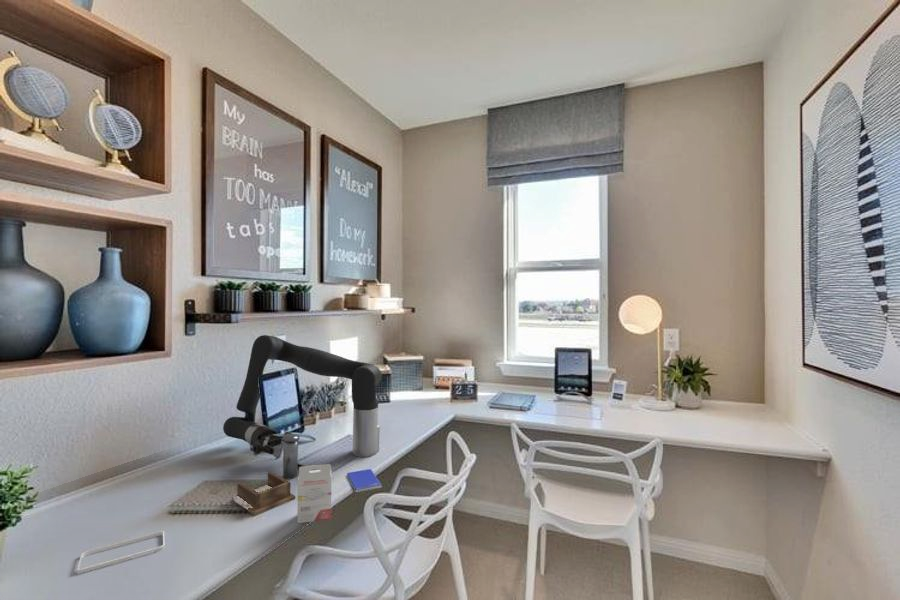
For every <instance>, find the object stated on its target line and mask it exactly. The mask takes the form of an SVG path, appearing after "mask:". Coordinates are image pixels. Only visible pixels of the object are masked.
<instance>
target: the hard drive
mask: <svg viewBox="0 0 900 600" xmlns="http://www.w3.org/2000/svg"><path fill="white" fill-rule="evenodd" d="M346 477H347V479H348V481H349V483H350V484H351V487H352V488H353V490H354V492H355V493H359V492H364V491H365V492H366V491H371V490H376V489H381V488H382V487H383V485H382V483H381V481H379V479H378V478H377V476H376V474H375V473H374V472H373V470H372V469H371V468H368V469H362V470H357V471H351V472H347V473H346Z"/></svg>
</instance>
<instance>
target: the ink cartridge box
mask: <svg viewBox="0 0 900 600" xmlns="http://www.w3.org/2000/svg"><path fill="white" fill-rule="evenodd" d="M331 466H332V465H331V463H327V464H314V465H306V466H304V465H303V466H299V467H298V476H297V521H296V522H297V524H304V523H311V522H319V521H326V520H331V519H332V479H333V478H332V467H331Z"/></svg>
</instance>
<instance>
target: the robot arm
mask: <svg viewBox="0 0 900 600" xmlns="http://www.w3.org/2000/svg"><path fill="white" fill-rule="evenodd" d="M269 360H274V361H279V362H285V363H289V364H292V365H294V366H296V367H298V368H299V369H301V370H303V371H305V372H308V373H311V374H314V375H318V376H322V377H323V376H324V377H331V378H332V377H333V378H335V377H336V378H346V379H348V380H350V381H351V400H352V403H353V412H352V420H353V421H352V452H353V453H352V454H353V456H356V457H360V458H362V457H370V456H371V457H372V456H374V455H375V454H377V453H378V451H380V429H381V427H380V425H378V424H379V399H378V398H377V396H376V386H378V384H379V383H380V382H381V380H382V378H383V375H382V374H383V373H382V371H381V369H380V367H378V366H377V365H375V364H373V363H369V362H368V363H367V362H361V361H357V360H356V361H355V360H352V359H349V358H345V357H342V356H340V355H337V354H334V353H331V352H328V351H325V350H321V349H317V348H313V347H309V346H301V345H297V344H294V343H291V342H288V341H286V340H284V339H281V338H280V337H278V336H273V335H267V334H263V335H260V336H257V338H256V339H254V342H253V344H252V347H251V353H250V357H249V362H248V367H247V372H246V376H245V380H244V384H243V387H242V390H241V391H240V395H239V397H238V401H237V402H236V410H237V411H240V412H242V413H244V416H230V417H229V418H227V419H226V420H225V421H224V423H223V426H222V430H223V432H224V434H225V435H226V436H227V437H230V438H234V439H237V440H238V439H239V440H242V441H244V442H246V443H247V444H249V450H250V451H252V452H253V453H254V454H257V455H260V454H261V452H262V453H266V454H269V455H274V454H275V448H274V447H280V446H281V447H284V442H283V441H282V438H283V436H284V435H287V434H293V433H292V432H290V431H289V432H288V431H286V432H284V434H278V433H277V431H276V430H275V429H274V428H272V427H269V426H267V425H264V424H261V423H258V422H256V413H257V407H258V404H259V401H260V399H261V396H260V393H259V387H258V377H259V376H262V375H264V371H265V367H266V364H267V362H268V361H269Z"/></svg>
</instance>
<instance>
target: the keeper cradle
mask: <svg viewBox="0 0 900 600" xmlns="http://www.w3.org/2000/svg"><path fill="white" fill-rule="evenodd" d="M267 484H268V486H270V487H272V488H270V489H267V490H265V491H262V492H259V493H258V492H256V491H255V490H253V488H251V487H250V486H248V485H246V484H245V483H243V482H242V481H240V482H237V485H236V486H237V488H236V489H237V492H236V496H239V497H240V498H242V499H243V500H244V501H246V502H247V503H248V504H250V505H251V506H252V507H253V508H248V510H249V511H247V512H249V514H251V515H252V516H254V517H255V516H257V515H259V514H262V513H265V512H267V511H269V510H272V509H274V508H277V507H279V506H281V505H284V504H287V503H288V502H290V501H291V502H292V501H293V500H295V499H296V495H294V494H293V493H291V490H292V489H291V487H292V486H291V485H292V484H291V481H289V480H288V479H284V478H283V476H281V475H278V474H276V473H274V472H272V471H269V472H267Z"/></svg>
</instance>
